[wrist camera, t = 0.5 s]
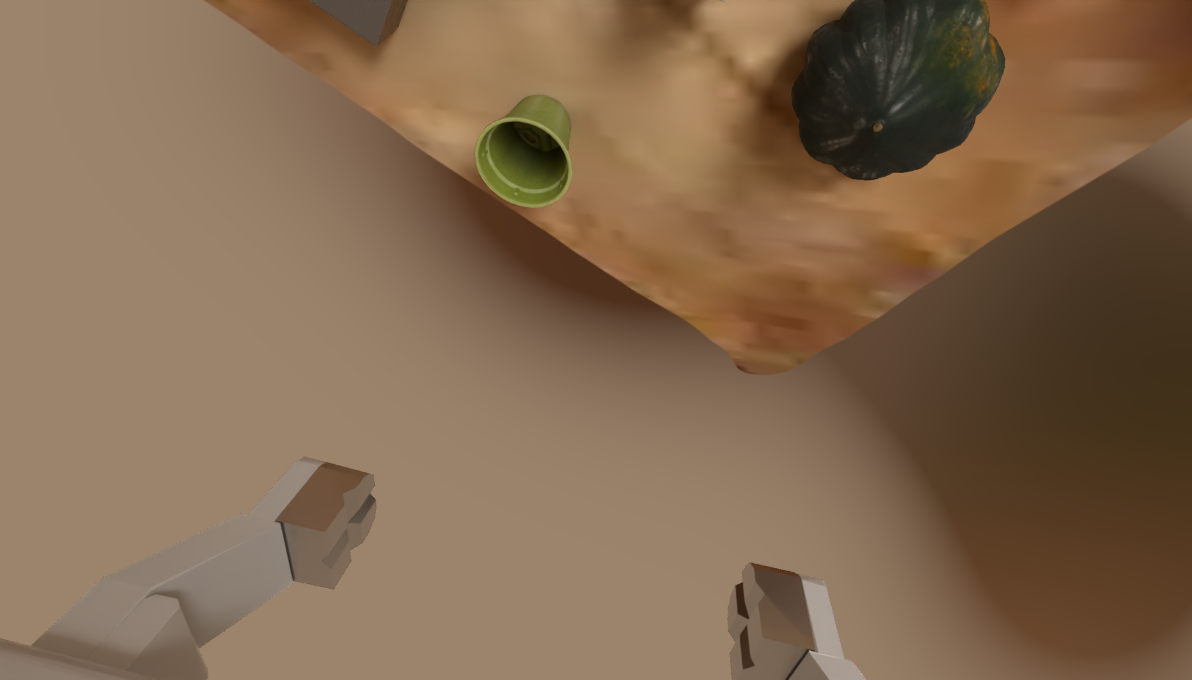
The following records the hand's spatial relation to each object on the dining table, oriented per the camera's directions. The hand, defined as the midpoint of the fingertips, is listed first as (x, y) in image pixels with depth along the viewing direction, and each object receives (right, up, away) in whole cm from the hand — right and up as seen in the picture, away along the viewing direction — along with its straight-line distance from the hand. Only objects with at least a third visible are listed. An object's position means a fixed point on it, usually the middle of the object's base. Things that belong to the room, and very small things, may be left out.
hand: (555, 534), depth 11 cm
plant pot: (-5, +27, +45) cm, 53 cm away
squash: (+26, +29, +37) cm, 53 cm away
